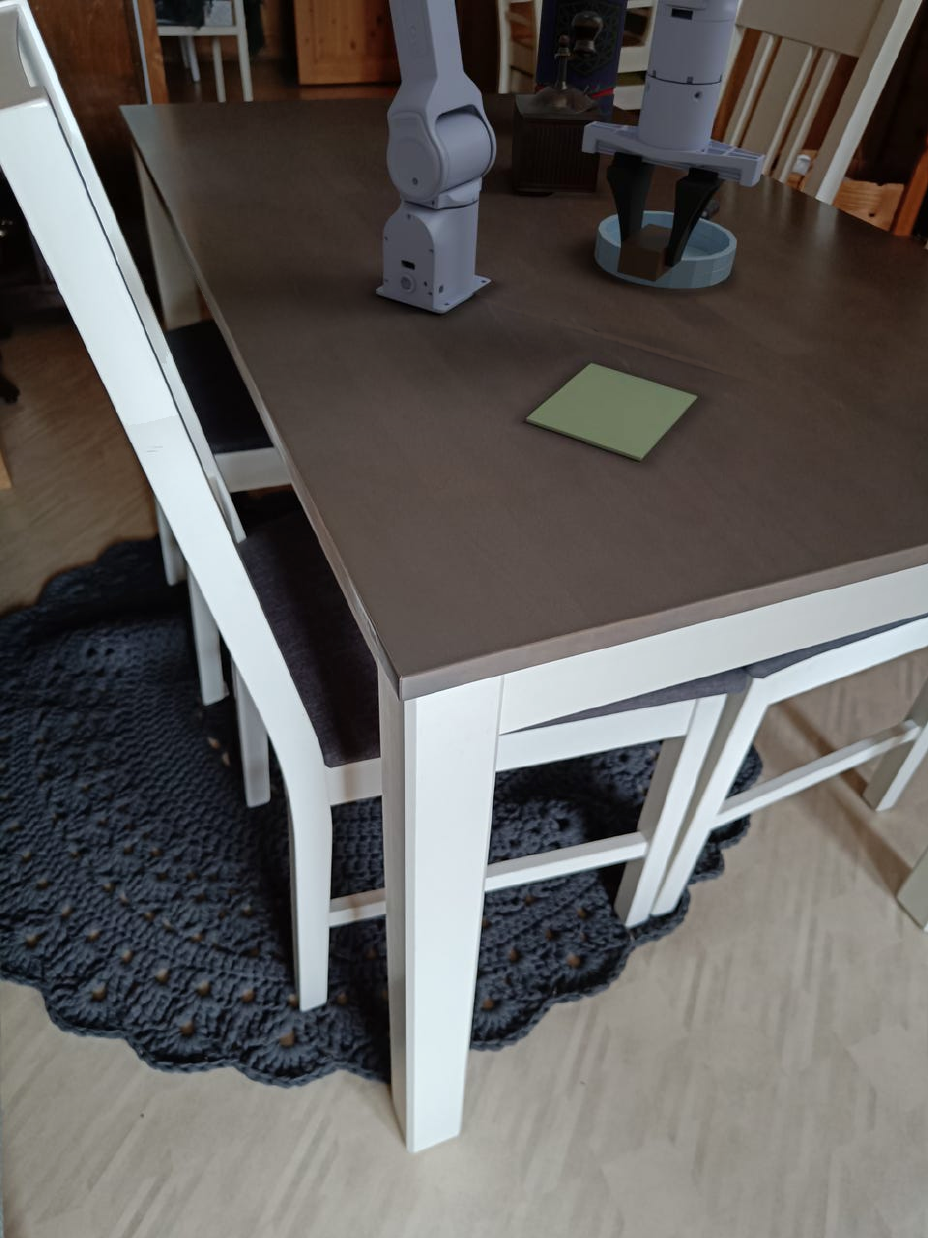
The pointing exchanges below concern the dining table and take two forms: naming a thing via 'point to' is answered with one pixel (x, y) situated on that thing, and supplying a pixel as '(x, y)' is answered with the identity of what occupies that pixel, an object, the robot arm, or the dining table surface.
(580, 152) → the vintage coffee grinder
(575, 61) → the dark blue tall block
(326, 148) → the dining table surface
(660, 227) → the chocolate
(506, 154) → the dining table surface
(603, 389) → the cloth
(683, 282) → the pan
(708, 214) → the pan handle
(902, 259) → the dining table surface
